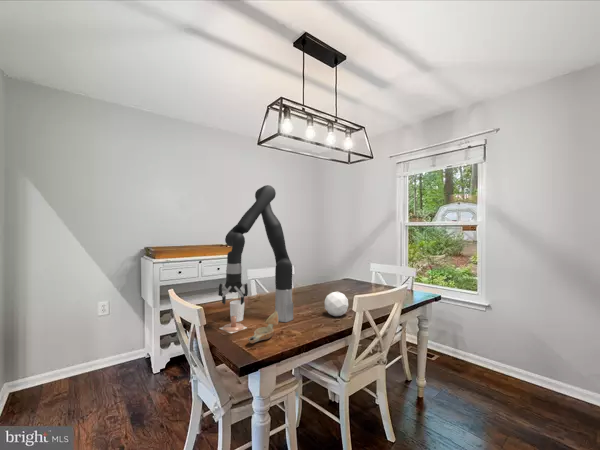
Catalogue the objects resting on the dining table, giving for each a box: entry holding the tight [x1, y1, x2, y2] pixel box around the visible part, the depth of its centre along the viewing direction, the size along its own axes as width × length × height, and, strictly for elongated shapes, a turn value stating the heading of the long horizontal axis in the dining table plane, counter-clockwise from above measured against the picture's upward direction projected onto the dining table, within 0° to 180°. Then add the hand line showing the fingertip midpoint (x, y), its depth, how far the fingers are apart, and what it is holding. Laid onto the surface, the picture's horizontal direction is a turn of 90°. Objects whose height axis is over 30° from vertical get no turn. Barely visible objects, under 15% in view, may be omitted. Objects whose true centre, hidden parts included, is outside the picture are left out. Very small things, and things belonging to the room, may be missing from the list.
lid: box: [222, 316, 245, 333], centre depth 139 cm, size 10×10×6 cm
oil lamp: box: [247, 310, 279, 344], centre depth 128 cm, size 9×21×10 cm, turn 152°
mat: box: [218, 326, 248, 334], centre depth 139 cm, size 10×10×1 cm
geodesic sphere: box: [323, 291, 349, 317], centre depth 163 cm, size 15×14×14 cm
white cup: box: [229, 299, 245, 323], centre depth 152 cm, size 8×8×10 cm
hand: (233, 304), depth 140 cm, fingers open, 8 cm apart
